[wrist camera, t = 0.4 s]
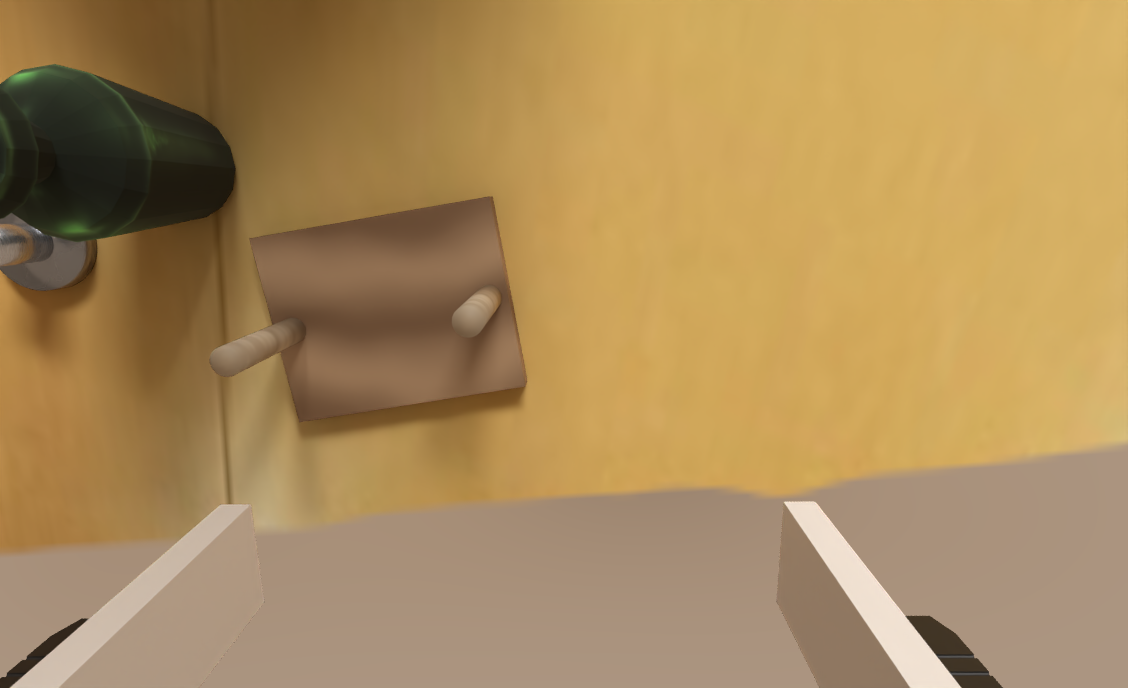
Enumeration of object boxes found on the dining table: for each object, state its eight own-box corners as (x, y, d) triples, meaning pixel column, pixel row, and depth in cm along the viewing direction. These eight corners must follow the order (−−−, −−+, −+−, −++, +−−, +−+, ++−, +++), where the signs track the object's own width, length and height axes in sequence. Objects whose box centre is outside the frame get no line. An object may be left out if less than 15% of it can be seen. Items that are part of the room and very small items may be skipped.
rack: (261, 237, 40) (167, 248, 31) (492, 196, 39) (467, 195, 30) (309, 414, 43) (235, 473, 34) (527, 379, 42) (513, 430, 33)
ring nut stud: (-11, 202, 40) (-92, 202, 35) (78, 185, 40) (9, 183, 35) (22, 294, 41) (-52, 307, 37) (109, 279, 41) (46, 290, 36)
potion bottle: (141, 72, 38) (-226, -35, 21) (268, 133, 39) (16, 78, 21) (104, 198, 40) (-265, 197, 22) (226, 254, 41) (-39, 295, 23)
